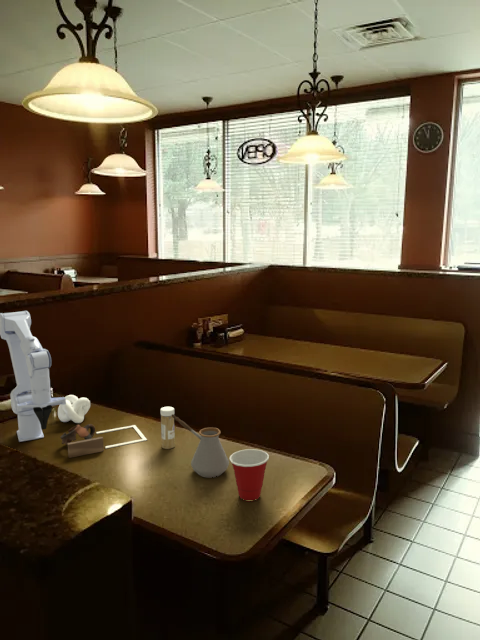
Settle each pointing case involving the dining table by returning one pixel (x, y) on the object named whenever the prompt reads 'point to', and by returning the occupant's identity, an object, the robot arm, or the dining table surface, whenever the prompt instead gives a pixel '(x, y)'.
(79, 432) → the brown curved piece
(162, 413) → the sprinkles bottle
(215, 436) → the coffee pot
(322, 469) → the dining table surface
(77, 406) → the white knot
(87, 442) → the walnut screen
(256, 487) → the plastic cup
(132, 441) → the bay outline
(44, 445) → the dining table surface
